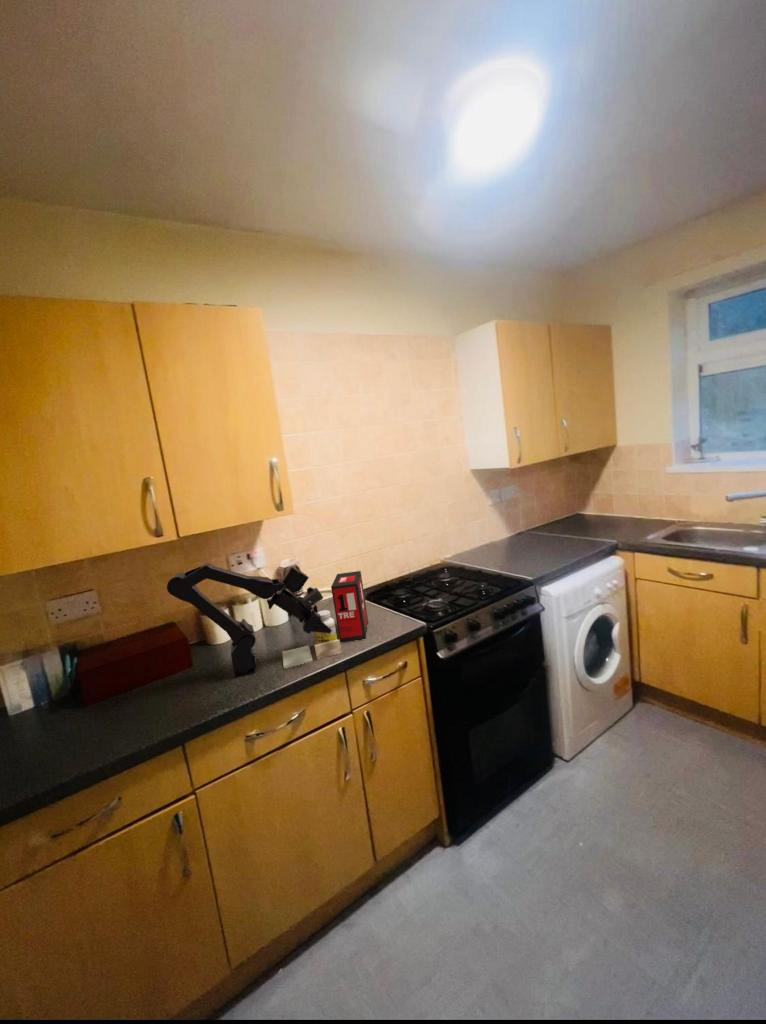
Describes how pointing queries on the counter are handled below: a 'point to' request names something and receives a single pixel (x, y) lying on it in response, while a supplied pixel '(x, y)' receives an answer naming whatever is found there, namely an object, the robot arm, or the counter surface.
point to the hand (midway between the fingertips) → (329, 628)
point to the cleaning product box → (350, 606)
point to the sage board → (296, 656)
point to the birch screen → (328, 649)
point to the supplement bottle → (330, 623)
